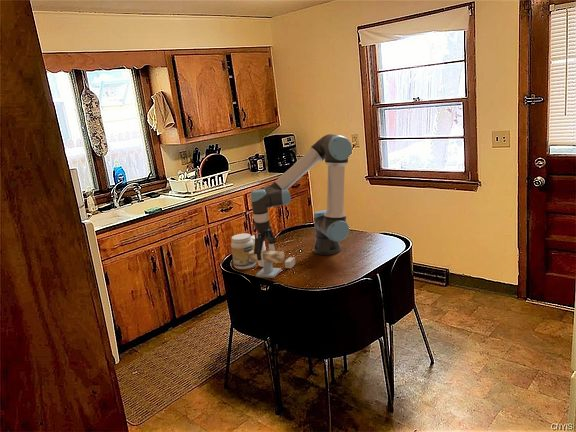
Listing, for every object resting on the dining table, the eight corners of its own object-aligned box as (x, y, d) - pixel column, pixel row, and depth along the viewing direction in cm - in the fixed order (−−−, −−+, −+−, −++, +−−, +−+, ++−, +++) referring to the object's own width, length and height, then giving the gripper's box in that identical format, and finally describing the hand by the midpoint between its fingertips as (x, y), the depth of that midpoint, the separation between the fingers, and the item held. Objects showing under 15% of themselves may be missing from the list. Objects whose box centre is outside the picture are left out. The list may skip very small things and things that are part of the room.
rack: (295, 263, 247) (294, 257, 246) (290, 268, 241) (289, 262, 240) (265, 262, 254) (264, 256, 253) (259, 266, 248) (259, 260, 247)
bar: (284, 259, 234) (283, 251, 233) (281, 263, 230) (280, 254, 229) (253, 258, 242) (252, 250, 241) (249, 261, 238) (248, 253, 237)
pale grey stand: (281, 270, 240) (280, 257, 238) (273, 277, 232) (271, 264, 230) (264, 269, 244) (262, 256, 242) (255, 276, 236) (253, 263, 234)
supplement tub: (250, 270, 245) (246, 240, 240) (230, 269, 249) (225, 240, 245) (260, 261, 255) (256, 232, 251) (240, 261, 260) (236, 232, 255)
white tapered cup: (264, 258, 259) (261, 238, 256) (250, 259, 261) (247, 239, 258) (268, 253, 267) (265, 233, 263) (254, 254, 268) (251, 234, 265)
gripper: (265, 213, 243) (270, 251, 248) (243, 228, 221) (249, 269, 227) (278, 213, 240) (283, 252, 245) (257, 228, 218) (262, 270, 224)
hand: (267, 260), depth 236 cm, fingers open, 13 cm apart
